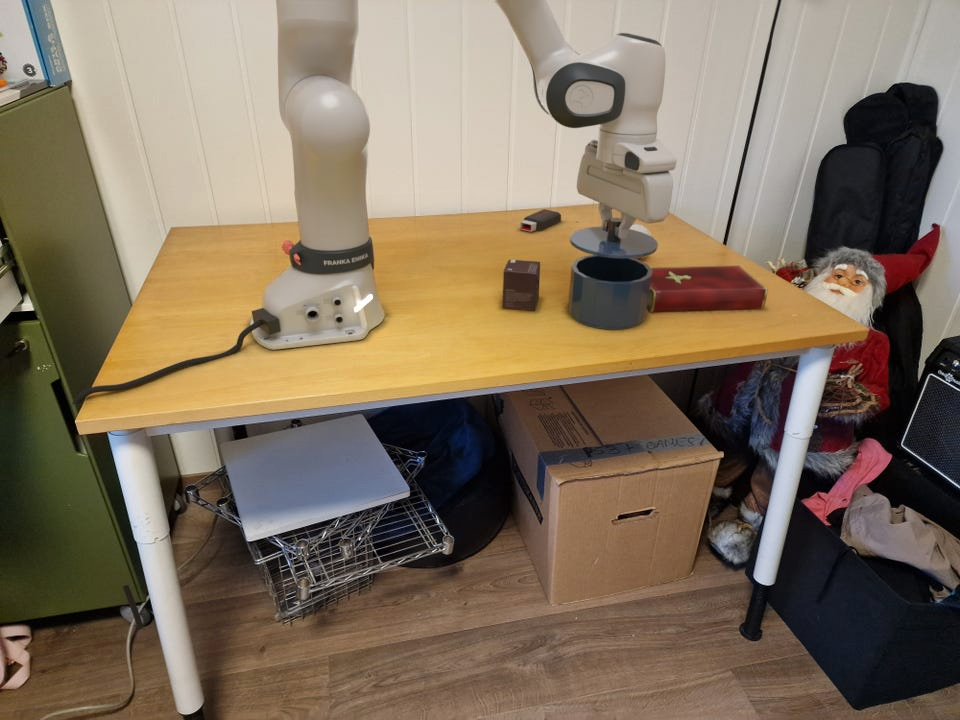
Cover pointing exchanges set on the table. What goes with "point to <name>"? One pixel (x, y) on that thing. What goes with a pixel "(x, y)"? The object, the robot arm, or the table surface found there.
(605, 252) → the pot lid
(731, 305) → the hardcover book
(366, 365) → the table surface
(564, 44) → the robot arm
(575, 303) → the pot
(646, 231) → the white sphere
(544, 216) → the usb drive
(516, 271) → the box
